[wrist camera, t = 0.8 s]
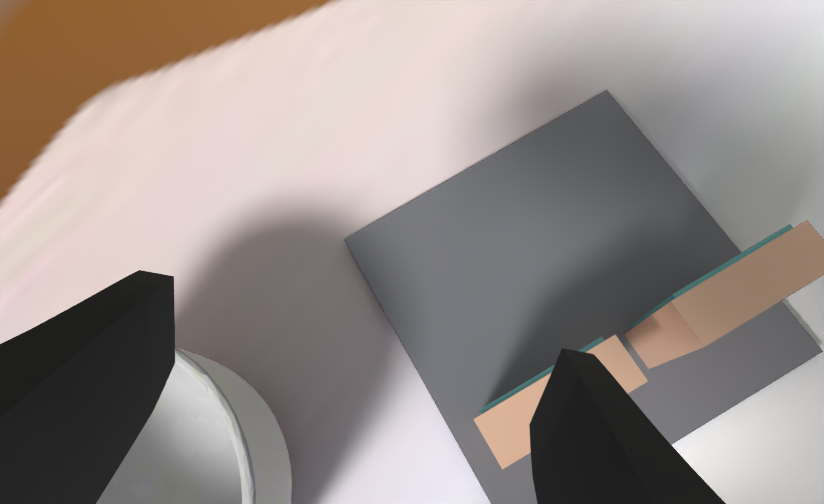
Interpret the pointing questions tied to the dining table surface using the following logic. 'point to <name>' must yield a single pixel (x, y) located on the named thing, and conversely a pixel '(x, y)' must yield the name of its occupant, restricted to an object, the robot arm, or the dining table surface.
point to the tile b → (729, 295)
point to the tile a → (514, 410)
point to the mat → (561, 281)
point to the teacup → (205, 444)
